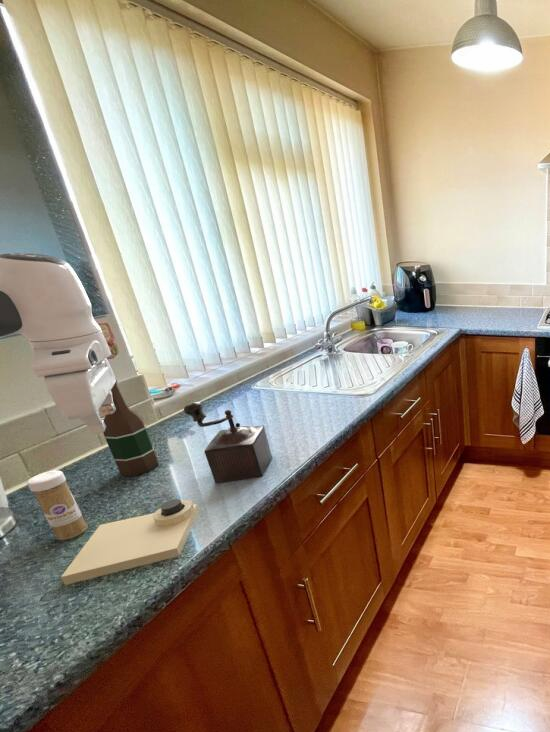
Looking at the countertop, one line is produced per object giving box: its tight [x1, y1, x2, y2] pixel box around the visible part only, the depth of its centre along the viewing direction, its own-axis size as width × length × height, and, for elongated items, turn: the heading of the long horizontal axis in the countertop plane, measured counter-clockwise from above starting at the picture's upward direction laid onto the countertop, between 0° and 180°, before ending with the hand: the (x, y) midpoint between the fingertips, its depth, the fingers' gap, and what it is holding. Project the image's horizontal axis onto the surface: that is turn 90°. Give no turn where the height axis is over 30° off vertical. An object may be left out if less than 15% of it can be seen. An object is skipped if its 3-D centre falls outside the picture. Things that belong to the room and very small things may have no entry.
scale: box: [60, 499, 200, 586], centre depth 77 cm, size 16×14×4 cm
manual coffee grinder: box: [183, 400, 273, 485], centre depth 97 cm, size 16×11×18 cm
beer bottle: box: [102, 379, 159, 477], centre depth 97 cm, size 8×8×24 cm
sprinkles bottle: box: [26, 470, 89, 541], centre depth 78 cm, size 5×5×14 cm
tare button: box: [160, 498, 183, 516], centre depth 81 cm, size 3×3×2 cm
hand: (105, 422), depth 75 cm, fingers open, 8 cm apart
